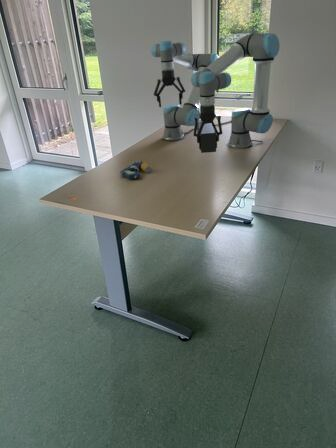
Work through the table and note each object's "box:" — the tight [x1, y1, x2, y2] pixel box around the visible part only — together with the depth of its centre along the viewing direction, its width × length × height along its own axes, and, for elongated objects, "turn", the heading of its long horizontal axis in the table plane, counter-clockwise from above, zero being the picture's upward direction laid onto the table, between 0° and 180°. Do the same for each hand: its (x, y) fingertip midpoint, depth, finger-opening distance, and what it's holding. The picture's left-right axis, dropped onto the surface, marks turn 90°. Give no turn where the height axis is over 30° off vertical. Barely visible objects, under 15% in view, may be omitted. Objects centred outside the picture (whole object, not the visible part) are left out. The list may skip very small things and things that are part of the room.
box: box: [196, 119, 217, 154], centre depth 190 cm, size 28×8×10 cm, turn 0°
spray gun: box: [119, 160, 152, 180], centre depth 195 cm, size 21×4×15 cm
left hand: (170, 105), depth 215 cm, fingers open, 13 cm apart
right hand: (208, 147), depth 183 cm, fingers closed on box, 8 cm apart
